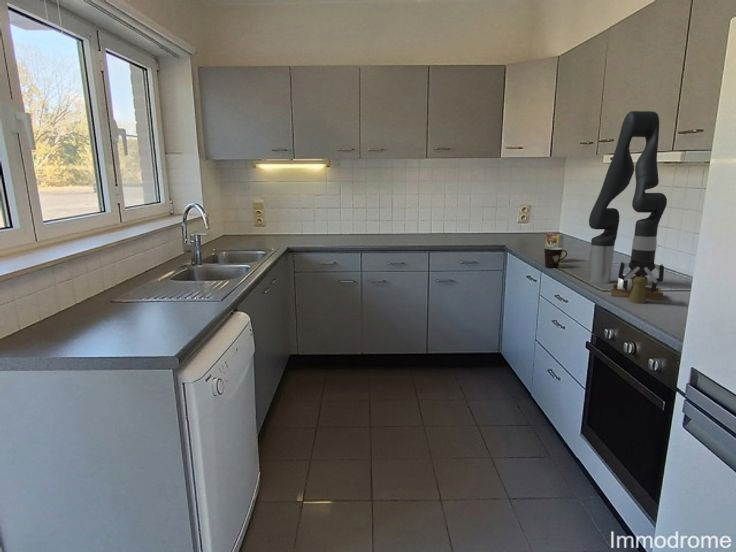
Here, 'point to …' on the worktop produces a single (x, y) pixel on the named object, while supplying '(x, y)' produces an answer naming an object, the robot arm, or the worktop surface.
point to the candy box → (555, 241)
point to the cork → (638, 290)
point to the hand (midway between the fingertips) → (638, 291)
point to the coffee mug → (553, 256)
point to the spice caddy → (624, 293)
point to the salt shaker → (620, 283)
